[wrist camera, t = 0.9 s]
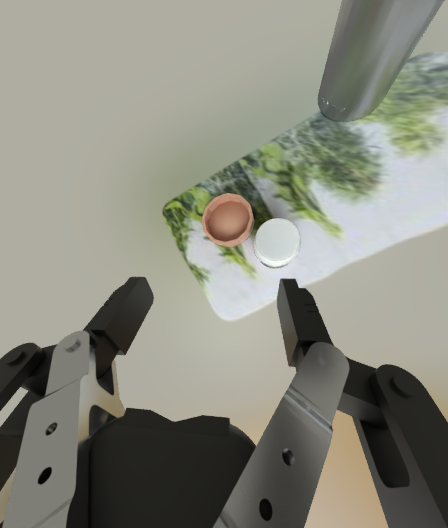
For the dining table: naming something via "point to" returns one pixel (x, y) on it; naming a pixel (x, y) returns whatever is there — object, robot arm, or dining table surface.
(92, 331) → the robot arm
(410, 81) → the dining table surface
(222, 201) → the bowl
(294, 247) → the pill bottle
